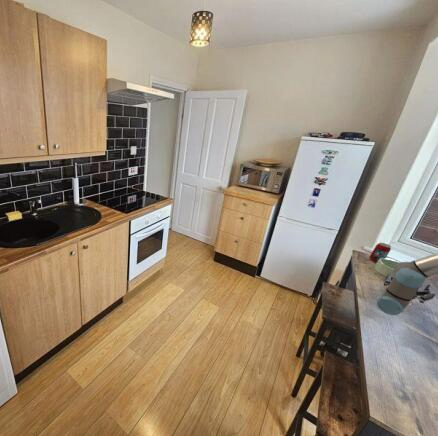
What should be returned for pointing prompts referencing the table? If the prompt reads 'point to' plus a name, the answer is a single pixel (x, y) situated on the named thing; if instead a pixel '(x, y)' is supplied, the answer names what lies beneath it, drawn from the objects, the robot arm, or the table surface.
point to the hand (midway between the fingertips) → (413, 281)
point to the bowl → (385, 266)
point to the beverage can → (380, 252)
